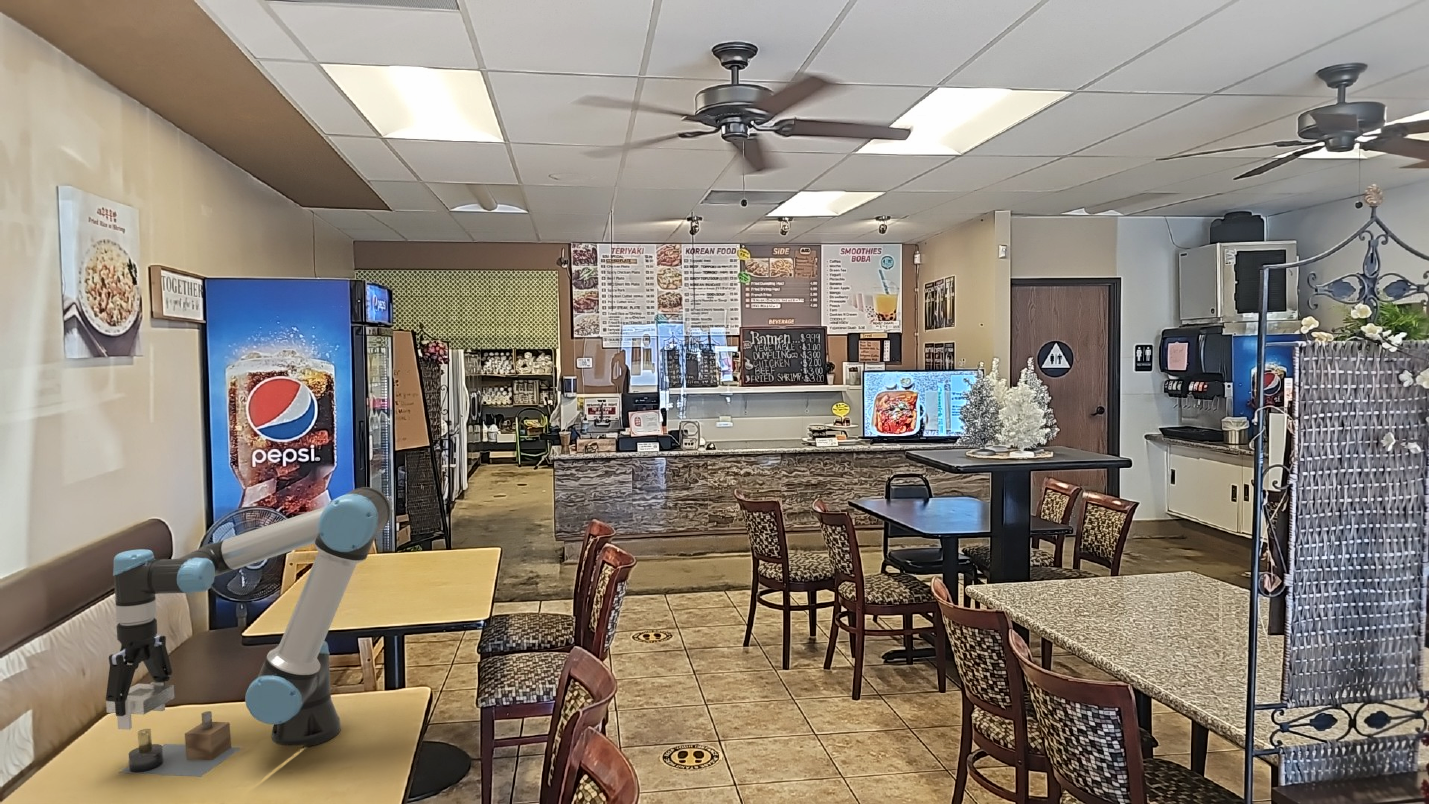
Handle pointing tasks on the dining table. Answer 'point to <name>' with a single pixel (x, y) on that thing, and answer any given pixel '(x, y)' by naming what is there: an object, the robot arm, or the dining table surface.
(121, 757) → the dining table surface
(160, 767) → the board
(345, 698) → the dining table surface
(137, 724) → the dining table surface
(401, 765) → the dining table surface
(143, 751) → the hub
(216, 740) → the stand
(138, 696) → the silver square ring
